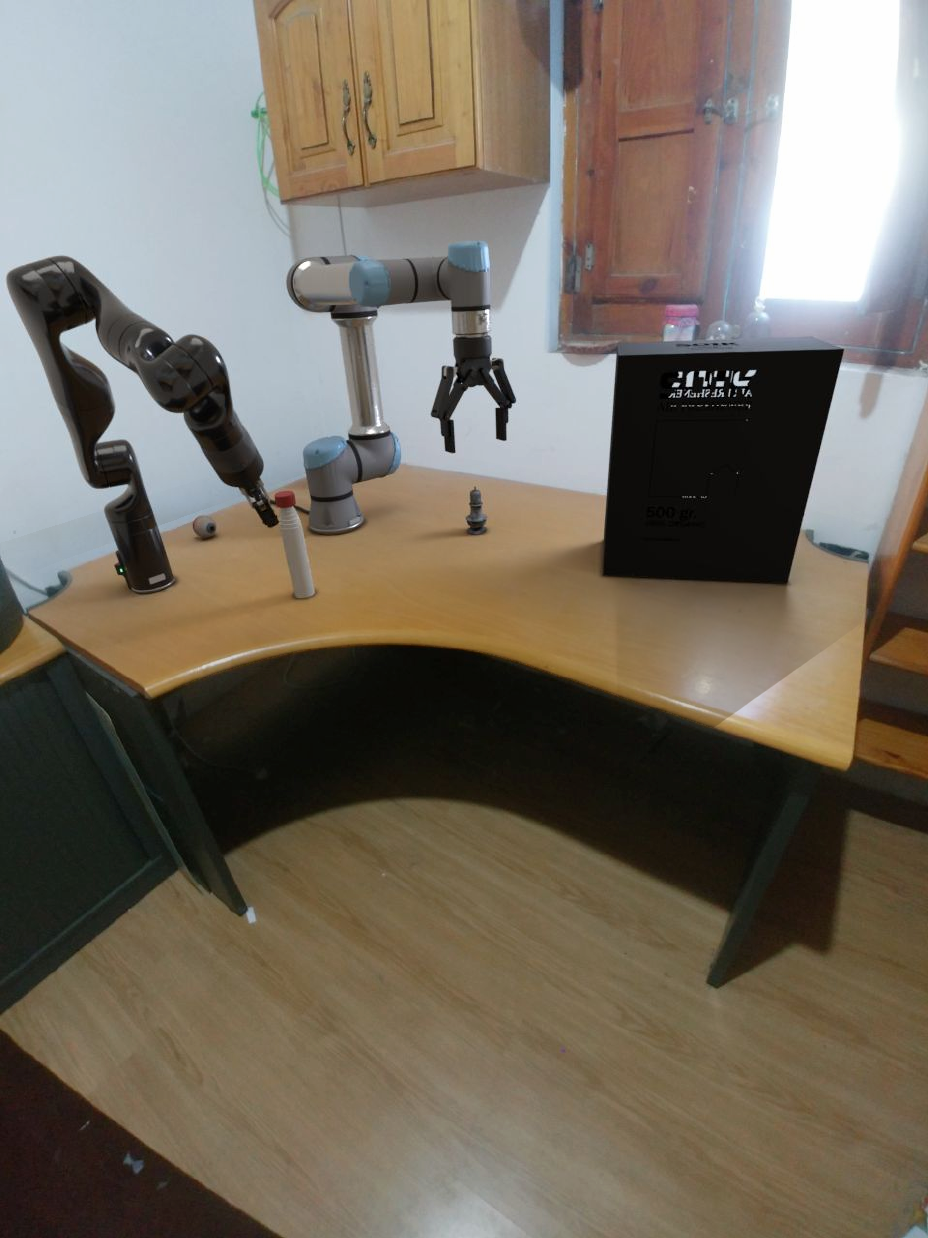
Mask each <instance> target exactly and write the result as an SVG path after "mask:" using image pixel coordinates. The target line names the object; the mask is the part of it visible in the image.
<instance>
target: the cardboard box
mask: <svg viewBox="0 0 928 1238" xmlns="http://www.w3.org/2000/svg"><path fill="white" fill-rule="evenodd" d="M844 353H845V348H843V347H841V346H838V345H835V344H832V343H830V342H827V341H824V340H821V339H819V338H816V337H814V336H792V337H791V336H790V337H788V336H787V337H757V338H729V339H727V338H726V339H698V340H696V339H695V340H669V341H668V340H667V341H665V340H664V341H635V342H617V343H616V355H615V356H616V357H615V358H616V359H615V372H614V385H613V399H612V412H611V429H610V440H609V441H610V443H609V455H608V456H609V458H608V471H607V483H606V485H607V486H606V501H605V514H604V527H603V544H602V545H603V546H602V549H603V550H602V551H603V552H602V576H606V577H625V578H626V577H627V578H628V577H629V578H630V577H631V578H647V579H648V578H653V579H673V580H695V581H697V580H698V581H699V580H700V581H722V582H745V583H763V584H765V583H767V584H786V585H787V584H788V582H789V578H790V575H791V570H792V566H793V562H794V557H795V554H796V549H797V546H798V541H799V537H800V534H801V529H802V526H803V525H802V524H803V521H804V517H805V513H806V509H807V504H808V501H809V496H810V492H811V488H812V484H813V480H814V475H815V472H816V467H817V464H818V460H819V455H820V451H821V448H822V443H823V439H824V435H825V431H826V427H827V422H828V420H829V419H828V418H829V414H830V410H831V407H832V401H833V397H834V395H835V389H836V385H837V381H838V377H839V374H840V373H839V372H840V370H841V366H842V365H841V364H842V360H843V356H844ZM750 371H755V372H754V373H753V374H752V375H749V376H748V375H747V374H748V373H749V372H750ZM692 372H693V375H692V382H691V386H687V382H688V381H687V379H688V375H689V374H690V373H692ZM700 372H705V375H704V376H700ZM679 373H681V376H680V374H679ZM715 373H716V375H715ZM727 373H728V375H727ZM737 373H738V379H737V381H738V382H747V384H746V385H736V384H735V383H734V380H735V376H736V374H737ZM705 382H706V385H704V384H705ZM718 382H719V383H721V382H722V383H723V386H722V385H721V386H719V385H718V386H717V383H718ZM674 384H679V385H677V386H674Z"/></svg>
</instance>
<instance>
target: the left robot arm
mask: <svg viewBox="0 0 928 1238" xmlns="http://www.w3.org/2000/svg"><path fill="white" fill-rule="evenodd" d="M5 283H6V288H7V291H8V294H9V296H10V299H11V301H12V303H13V306H14V307H15V310H16V312H17V314H18V316H19V318H20V320H21V322H22V324H23V326H24V329H25V330H26V332H27V335H28V337H29V338H30V340H31V343H32V345H33V347H34V348H35V351H36V353H37V356H38V358H39V361H40V363H41V365H42V368H43V371H44V373H45V376H46V379H47V382H48V385H49V388H50V391H51V395H52V396H53V397H52V398H53V399H54V402H55V404H56V407H57V409H58V412H59V413H60V414H59V415H60V416H61V418H62V420H63V422H64V425H65V427H66V429H67V432H68V435H69V438H70V439H71V443H72V448H73V451H74V454H75V458H76V461H77V465H78V468H79V471H80V473H81V475H82V478H83V479H84V480H85V482H86V483H87V485H89V486H90V487H91V488H93V489H94V490H95V489H96V490H105V489H109V488H110V489H111V488H115V487H120V486H126V485H127V487H126V489H125V490H124V491H123V492H122V493H121V494H120V495H119V496H117V497H116V498H114V499H112V500H110V501H109V502H108V503H106V504H105V506H104V507H103V512H104V516H105V518H106V521H107V523H108V526H109V529H110V532H111V534H112V538H113V540H114V541H115V546H116V548H117V550H116V551H115V556H116V558H117V561H118V562H117V563H115V564H113V566H114V569H115V572H116V574H117V576H122V577H123V578H124V580H125V582H126V585H127V588H128V590H129V591H130V590H131V591H132V592H133V593H135V594H141V595H143V594H144V595H145V594H151V593H157V592H160V591H163V590H166V589H167V588H169V587H171V586H172V585H173V584H175V583H176V577H175V575H174V573H173V570H172V566H171V563H170V559H169V557H168V554H167V551H166V548H165V545H164V541H163V537H162V535H161V532H160V529H159V526H158V522H157V520H156V516H155V514H154V510H153V507H152V505H151V502H150V499H149V496H148V493H147V490H146V487H145V483H144V479H143V476H142V472H141V468H140V464H139V461H138V458H137V457H138V456H137V454H136V452H135V448H134V447H133V445H132V444H131V443H130V442H129V441H128V440H127V439H124V438H117V439H112V440H105V441H100V439H101V438H102V436H103V435H104V434H105V433H106V431H107V430H108V429H109V427H110V425H111V423H112V421H113V420H114V418H115V417H114V416H115V414H116V403H115V398H114V393H113V391H112V387H111V383H110V381H109V379H108V377H107V375H106V373H104V371H103V369H101V368H100V367H99V366H98V365H96V364H95V363H94V362H92V361H91V360H90V359H88V358H86V357H84V356H83V355H81V354H80V353H78V352H76V351H75V350H72V349H71V348H70V347H69V346H67V345H66V344H64V343H63V342H62V341H61V335H62V334H63V333H66V332H69V331H71V330H73V329H76V328H79V327H82V326H84V325H87V324H89V323H92V322H93V321H94V320H95V323H94V328H95V334H96V336H97V337H96V338H97V339H98V342H99V343H100V345H101V347H102V348H103V349H104V351H105V352H106V353H107V354H108V355H109V356H110V357H111V358H113V359H114V360H115V361H117V362H118V363H119V364H121V365H122V366H124V367H125V368H127V369H128V370H129V371H131V372H133V373H134V374H135V376H137V377H138V378H139V380H140V381H141V383H142V384H143V386H144V388H145V390H146V391H147V393H148V395H150V397H151V398H152V400H153V401H154V402H155V403H156V404H157V405H158V406H159V407H160V408H162V409H163V410H165V411H167V412H169V413H173V414H183V421H184V423H185V425H186V427H187V429H188V430H189V432H190V433H191V434H192V436H193V438H194V439H195V440H196V442H197V444H198V445H199V448H200V449H201V452H202V453H203V456H204V457H205V458H206V460H207V462H208V463H209V464H210V466H211V467H212V469H213V471H214V472H215V474H216V475H217V477H218V478H219V480H220V481H221V482H222V483H224V484H225V485H226V486H229V487H231V488H238V489H239V491H240V493H241V495H243V496H244V497H245V499H246V500H247V502H248V504H249V506H250V507H251V509H253V510H255V511H256V513H257V515H258V517H259V518H260V520H261V523H262V524H263V525H264V526H265V527H267V528H269V529H272V528H273V527H276V526H278V525H280V520H279V519H278V518H279V516H278V514H276V513H275V512H276V511H275V509H274V508H273V507H272V504H270V499H271V498H270V496H269V494H268V492H267V490H266V489H265V487H264V485H265V484H264V482H263V481H262V480H263V479H262V478H261V476H262V474H263V472H264V467H265V464H264V463H265V462H264V460H263V457H262V456H261V454H260V452H259V449H258V448H257V446H256V444H255V442H254V440H253V438H252V436H251V434H250V433H249V431H248V430H247V428H246V427H245V426H244V425H243V423H242V421H241V419H240V417H239V416H238V414H237V412H236V410H235V408H234V403H233V396H232V390H231V383H230V381H231V380H230V376H229V372H228V371H229V370H228V369H227V365H226V362H225V359H224V358H223V356H222V354H221V352H220V351H219V350H218V348H217V347H216V346H215V345H214V344H213V343H212V342H211V341H210V340H209V339H207V338H205V337H204V336H201V335H200V334H195V333H188V334H185V335H183V336H181V337H180V338H178V339H177V340H174V339H173V338H172V336H171V335H170V334H169V333H167V331H166V330H164V329H162V328H161V327H159V326H158V325H156V324H155V323H153V322H151V320H148V319H146V318H145V317H143V316H142V315H140V314H138V313H137V312H135V311H133V310H132V309H131V308H130V307H128V306H127V305H126V304H125V303H124V302H123V301H122V300H121V299H120V298H119V297H118V296H117V295H116V294H115V293H114V292H113V291H112V290H111V289H110V288H109V287H108V286H107V285H105V283H104V282H102V281H101V280H100V279H99V278H98V277H97V276H96V275H95V274H94V273H93V272H92V271H90V269H89V268H87V267H86V266H85V265H84V264H82V263H81V262H80V261H78V260H77V259H75V258H73V257H71V256H69V255H63V254H59V255H53V256H48V257H46V258H42V259H38V260H36V261H32V262H29V263H26V264H23V265H18V266H17V267H15V268H12V269H11V270H9V271H8V272H7V274H6V276H5ZM99 441H100V442H99ZM261 493H263V495H264V497H263V498H262V497H261V496H260V495H261ZM252 499H254V500H255V501H253V500H252Z"/></svg>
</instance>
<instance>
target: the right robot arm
mask: <svg viewBox="0 0 928 1238" xmlns="http://www.w3.org/2000/svg"><path fill="white" fill-rule="evenodd" d="M490 263H491V262H490V252H489V245H488V244H487V242H485V241H484V240H466V241H455V242H451V243H450V244H449V245H448V247H447V256H431V257H430V256H427V257H413V258H411V257H410V258H391V259H390V258H386V259H374V258H370V257H369V256H367V255H358V254H349V255H328V256H326V255H325V256H310V257H305V258H302V259H300V260H298V261H296V262H295V263H293V265H291V267H290V268H289V269H288V272H287V275H286V281H285V282H286V283H285V284H286V285H285V286H286V290H287V293H288V296H289V297H290V299H291V300H292V303H294V304H295V305H296V306H298V307H299V308H300V309H302V310H304V311H306V312H310V313H318V314H319V313H320V314H321V313H330V320H331V321H332V322H333V323H334V324H335V325H336V326H337V327H338V332H339V333H338V334H339V339H340V347H341V355H342V361H343V369H344V375H345V382H346V383H345V384H346V389H347V396H348V404H349V410H350V418H351V425H350V426H349V428H348V430H347V436H348V439H345V437H343V436H341V435H332V436H324V437H321V438H318V439H315V440H312V441H311V442H309V443H308V444H306V445H305V446H304V448H303V450H302V457H303V459H302V460H303V467H304V471H305V476H306V481H307V486H308V492H309V498H310V507H309V510H307V509H305V508H303V507H301V506H299V505H296V504H295V505H294V506H293V507H294V508H295V510H298V511H300V512H302V513H304V514H306V515H308V528H309V529H308V530H310V531H311V532H312V533H314V534H317V535H323V536H324V535H325V536H327V535H329V536H331V535H339V534H340V535H341V534H345V533H350V532H353V531H355V530H357V529H359V528H361V527H362V526H363V525H364V523H365V519H364V514H363V512H362V510H361V508H360V505H359V504H358V501H357V500H356V498H355V495H354V489H353V485H354V484H355V485H356V484H359V483H363V482H368V481H371V480H375V479H381V478H385V477H387V476H390V475H392V474H394V473H396V472H397V470H398V469H399V467H400V465H401V462H402V446H401V443H400V441H399V437H398V436H397V435H396V434H395V432H394V431H391V426H390V425H388V423H386V422H385V420H384V419H385V418H384V410H383V402H382V393H381V385H380V377H379V368H378V367H379V366H378V358H377V349H376V341H375V331H374V324H375V322H376V320H377V319H378V317H379V314H378V309H379V308H381V307H385V306H394V305H403V304H405V305H406V304H417V303H419V304H420V303H427V302H428V303H429V302H444V301H448V302H449V301H450V311H451V313H450V314H451V315H450V316H451V334H453V335H454V337H453V339H452V350H453V358H454V359H455V363H454V366H452V365H442V366H441V373H440V374H441V375H440V376H441V377H440V381H439V384H438V388H437V390H436V395H435V398H434V401H433V404H432V407H431V411H430V416H431V418H435V419H438V421H439V426H440V435H441V437H443V441H444V442H443V443H444V452H446V453H450V454H456V433H455V420H454V419H451V418H452V416H453V414H454V413H455V410H456V409H457V406H458V404H459V402H460V401H461V399H462V397H463V396H464V393H465V392H466V391H468V389H469V388H474V387H477V386H478V387H482V386H483V387H484V389H485V390H486V391H487V392H488V394H489V396H491V398H492V399H493V401H494V402H495V403H496V405H497V406H498V407H495V408H494V410H495V411H494V413H495V414H494V415H495V439H496V440H499V441H502V442H507V441H508V438H507V435H508V433H507V424H509V410H510V409H512V407H513V404H516V403H517V398H516V394H515V393H514V390H513V388H512V385H511V383H510V380H509V378H508V375H507V373H506V370H505V363H504V362H505V361H504V359H503V358H499V357H493V358H491V356H492V354H493V346H492V344H493V343H492V340H493V339H492V336H491V335H489V333H491V332H492V315H491V314H492V312H491V311H492V309H491V264H490ZM491 370H492V374H493V376H494V378H493V376H492V375H491ZM455 377H456V378H455ZM454 378H455V380H454ZM495 381H496V383H497V384H496V383H495ZM259 496H260V497H261V498H263V497H264V496H265V495H264V493H263V492H262V493H261V495H259ZM270 503H271V504H273V505H276V501H275V500H274V499H271V498H270V502H269V504H270Z"/></svg>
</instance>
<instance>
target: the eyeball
mask: <svg viewBox="0 0 928 1238" xmlns="http://www.w3.org/2000/svg"><path fill="white" fill-rule="evenodd" d="M192 529H193V532H194V533H195V534H196V535H197V536H198V537H201V538H210V537H212V536H214V535H215V533H216V531H217V523H216V521H215V520H214V519H213V518H212V517H211V516H208V515H204V514H203V515H199V516H197V517H196V518H195V519H194V520H193V521H192Z"/></svg>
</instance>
